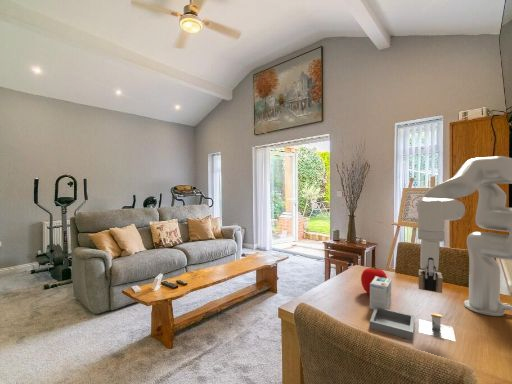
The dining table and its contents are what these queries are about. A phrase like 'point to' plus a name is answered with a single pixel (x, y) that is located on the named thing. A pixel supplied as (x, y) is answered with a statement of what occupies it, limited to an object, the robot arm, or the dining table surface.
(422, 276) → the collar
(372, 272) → the red rounded piece
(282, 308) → the dining table surface
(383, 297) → the light bulb box
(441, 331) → the white piece
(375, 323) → the tray
